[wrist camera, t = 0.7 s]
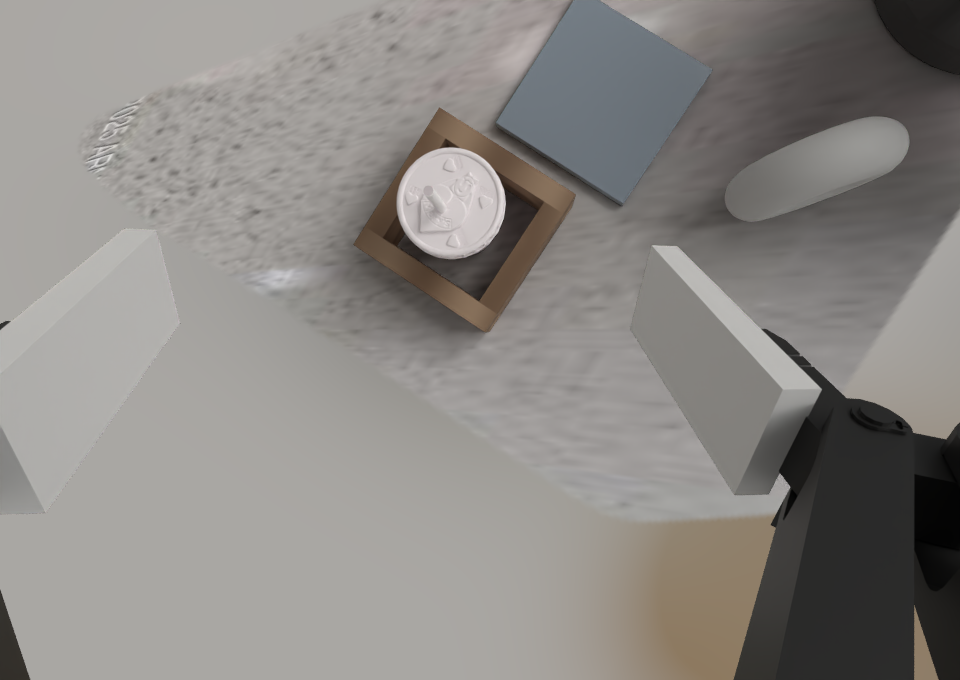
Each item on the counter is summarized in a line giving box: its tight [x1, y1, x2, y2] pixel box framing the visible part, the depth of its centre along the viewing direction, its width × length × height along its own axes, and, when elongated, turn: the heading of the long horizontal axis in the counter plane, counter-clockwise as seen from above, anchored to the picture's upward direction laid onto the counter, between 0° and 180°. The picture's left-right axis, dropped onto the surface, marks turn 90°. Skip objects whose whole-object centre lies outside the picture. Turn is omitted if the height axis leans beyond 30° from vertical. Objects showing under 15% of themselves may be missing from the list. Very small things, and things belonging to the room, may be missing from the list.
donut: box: [725, 116, 910, 222], centre depth 34 cm, size 10×4×10 cm, turn 109°
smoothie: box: [397, 148, 506, 259], centre depth 34 cm, size 6×6×14 cm
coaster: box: [496, 0, 713, 206], centre depth 40 cm, size 11×11×1 cm
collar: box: [353, 107, 576, 332], centre depth 39 cm, size 11×11×4 cm
